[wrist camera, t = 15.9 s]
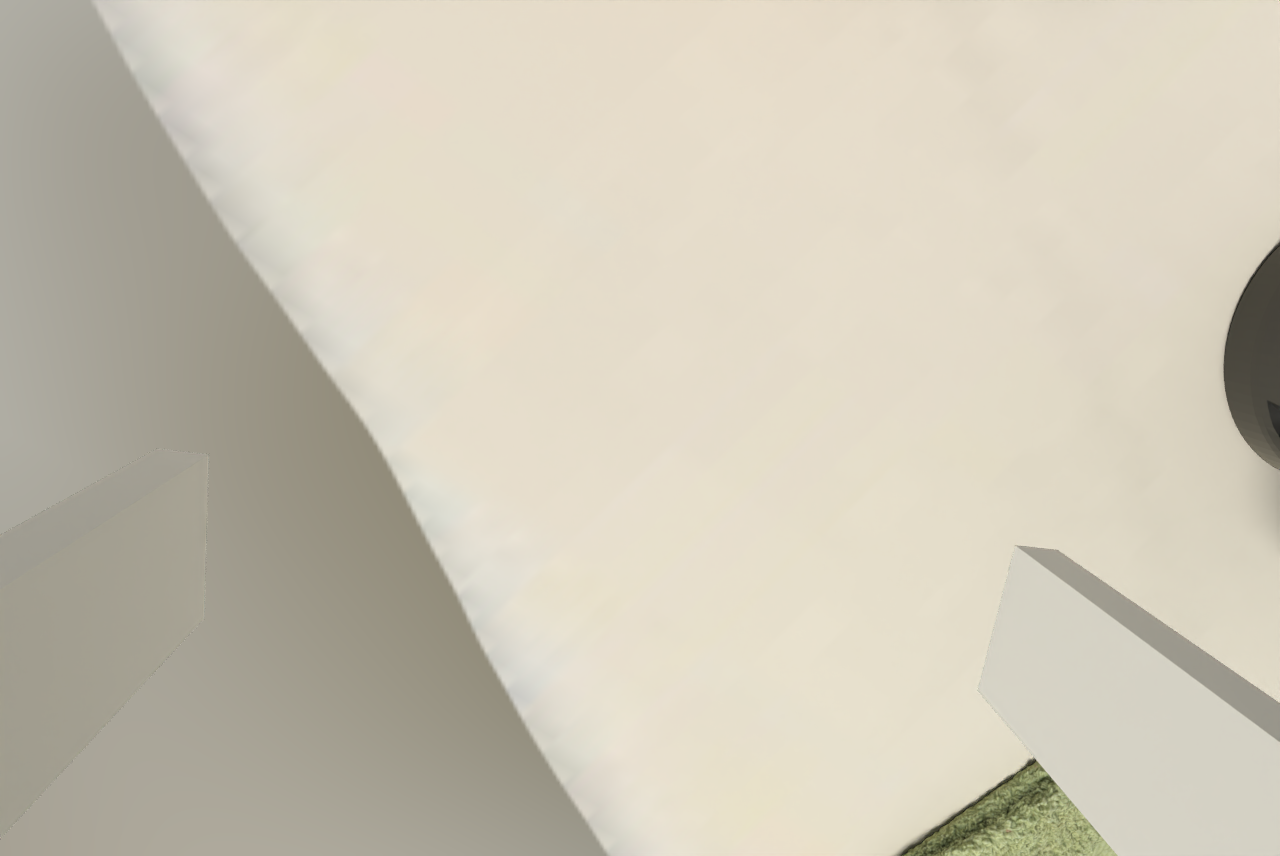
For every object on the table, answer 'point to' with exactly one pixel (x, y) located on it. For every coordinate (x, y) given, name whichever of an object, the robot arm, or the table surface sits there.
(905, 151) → the table surface
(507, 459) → the table surface
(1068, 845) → the washcloth
